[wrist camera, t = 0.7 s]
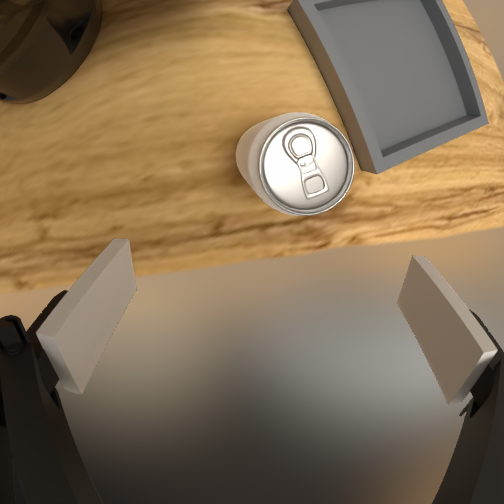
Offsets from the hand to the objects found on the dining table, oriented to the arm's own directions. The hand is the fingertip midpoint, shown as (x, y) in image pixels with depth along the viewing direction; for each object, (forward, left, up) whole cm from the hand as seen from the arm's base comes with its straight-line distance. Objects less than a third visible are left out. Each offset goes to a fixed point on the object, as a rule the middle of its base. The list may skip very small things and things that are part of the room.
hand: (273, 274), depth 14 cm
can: (-3, +4, -16) cm, 17 cm away
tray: (-7, +21, -16) cm, 28 cm away
